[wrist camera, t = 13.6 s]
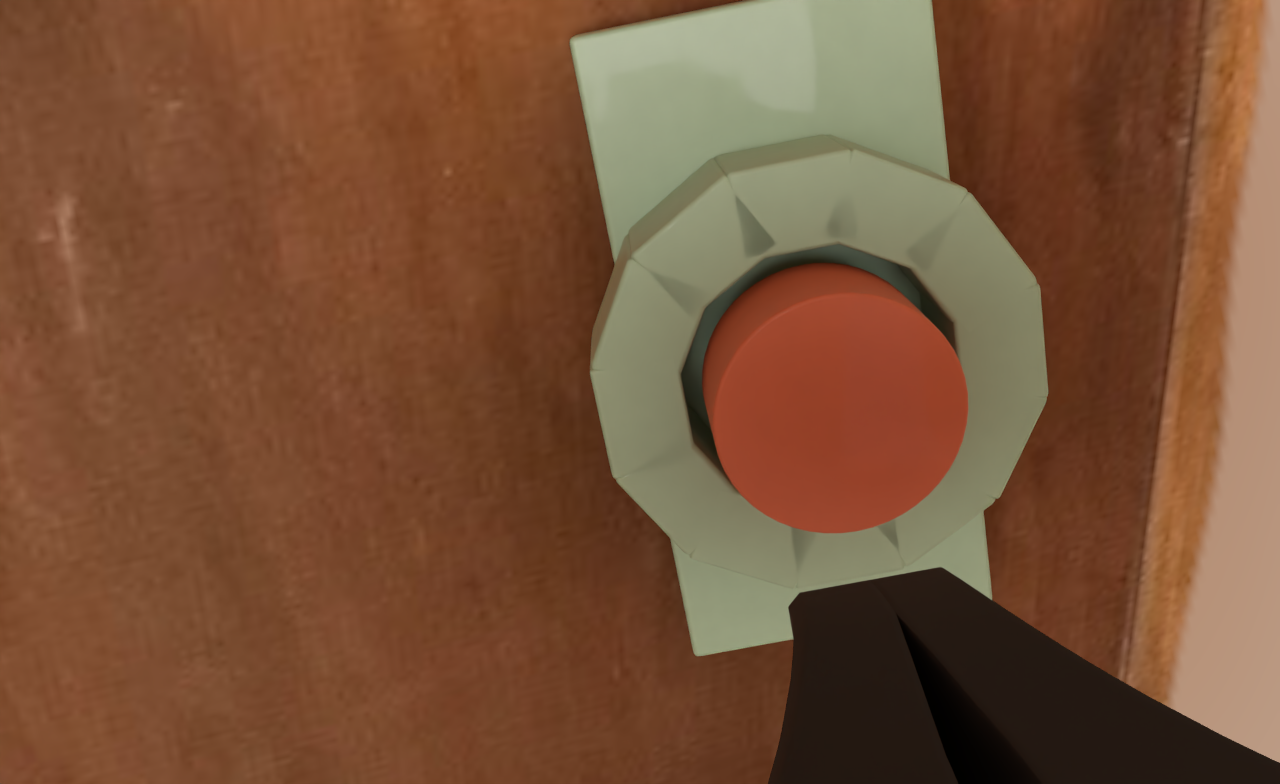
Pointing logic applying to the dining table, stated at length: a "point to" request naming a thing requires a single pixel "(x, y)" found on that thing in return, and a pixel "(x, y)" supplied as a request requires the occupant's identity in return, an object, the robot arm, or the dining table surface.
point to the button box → (776, 240)
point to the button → (832, 398)
